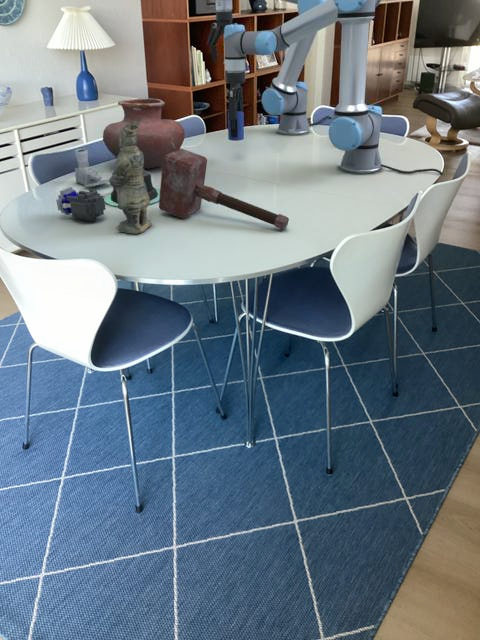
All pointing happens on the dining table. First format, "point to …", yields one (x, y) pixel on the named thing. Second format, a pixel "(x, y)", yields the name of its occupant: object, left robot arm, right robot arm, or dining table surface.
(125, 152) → the statue
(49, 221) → the dining table surface
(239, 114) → the canister
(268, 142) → the dining table surface
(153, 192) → the chocolate cake
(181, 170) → the sledgehammer
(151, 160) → the clay pot
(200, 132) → the dining table surface
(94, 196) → the toy
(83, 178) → the grey l-shaped piece
